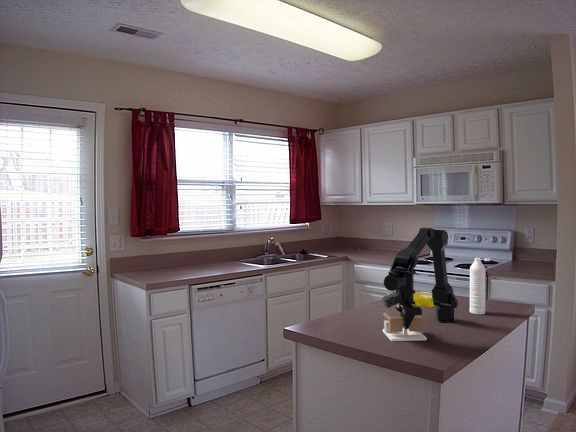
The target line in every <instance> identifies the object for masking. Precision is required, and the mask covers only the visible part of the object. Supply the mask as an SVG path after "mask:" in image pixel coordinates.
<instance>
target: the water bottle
mask: <svg viewBox="0 0 576 432" xmlns="http://www.w3.org/2000/svg"><path fill="white" fill-rule="evenodd" d="M484 262H491V258H484ZM469 313H470V314H473V315H485V314H486V267H485V266H484V264H483V262H482V261H481V258H480V257H474V261H473V263H472V264H471V265H470V267H469Z"/></svg>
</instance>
